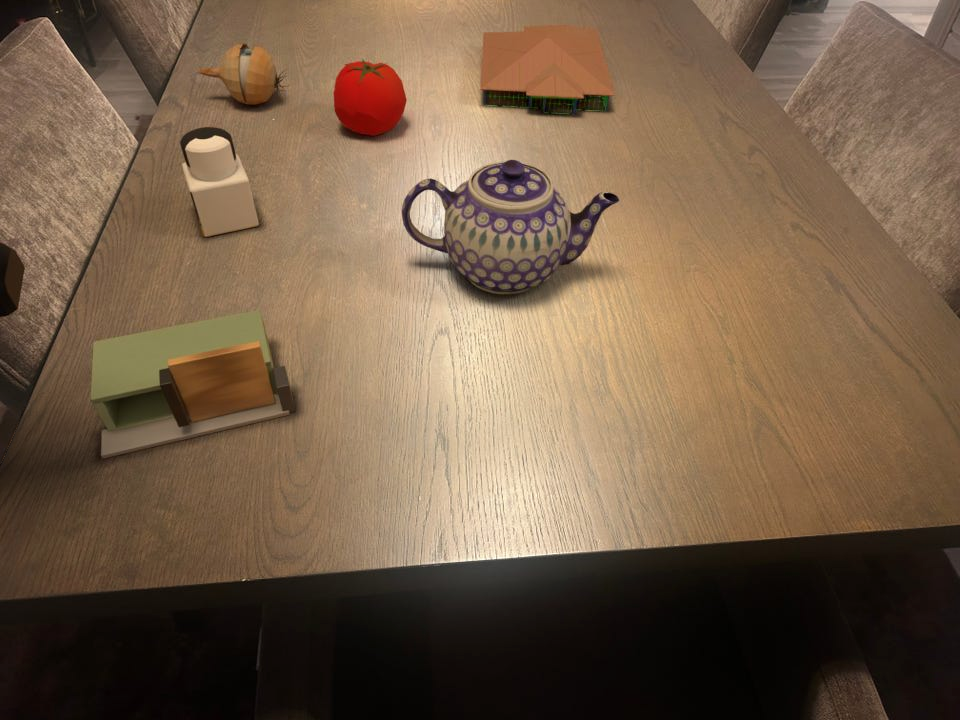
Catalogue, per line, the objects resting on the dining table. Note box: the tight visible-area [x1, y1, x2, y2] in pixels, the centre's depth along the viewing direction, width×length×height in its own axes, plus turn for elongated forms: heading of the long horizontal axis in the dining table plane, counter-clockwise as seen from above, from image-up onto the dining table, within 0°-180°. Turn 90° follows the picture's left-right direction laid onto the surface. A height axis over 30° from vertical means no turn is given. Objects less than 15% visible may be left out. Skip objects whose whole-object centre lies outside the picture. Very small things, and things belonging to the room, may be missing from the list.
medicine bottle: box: [179, 126, 260, 238], centre depth 86 cm, size 7×7×12 cm
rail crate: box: [90, 309, 296, 459], centre depth 67 cm, size 18×11×5 cm, turn 110°
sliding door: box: [159, 341, 276, 427], centre depth 63 cm, size 9×2×8 cm, turn 110°
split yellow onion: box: [197, 41, 290, 106], centre depth 111 cm, size 9×9×15 cm
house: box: [480, 24, 616, 115], centre depth 123 cm, size 23×33×8 cm
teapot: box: [401, 159, 620, 295], centre depth 79 cm, size 25×15×15 cm, turn 86°
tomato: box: [333, 58, 408, 137], centre depth 106 cm, size 12×12×10 cm
